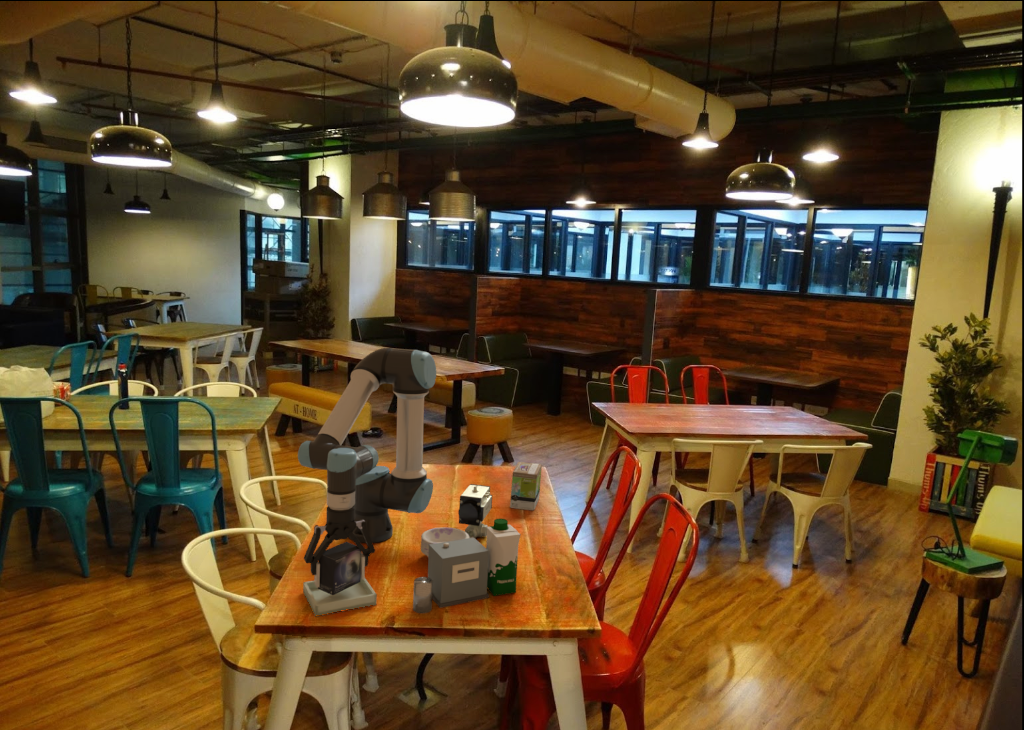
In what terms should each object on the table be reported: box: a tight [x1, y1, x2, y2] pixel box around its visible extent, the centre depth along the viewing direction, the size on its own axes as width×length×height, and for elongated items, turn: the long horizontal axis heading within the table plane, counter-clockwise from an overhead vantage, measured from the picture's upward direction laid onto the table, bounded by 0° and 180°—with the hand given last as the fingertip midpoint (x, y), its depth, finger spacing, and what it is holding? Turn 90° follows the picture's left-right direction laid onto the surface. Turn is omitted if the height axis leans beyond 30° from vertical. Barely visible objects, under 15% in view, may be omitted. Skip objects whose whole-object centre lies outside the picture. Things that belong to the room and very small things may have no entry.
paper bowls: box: [420, 527, 470, 559], centre depth 222 cm, size 15×15×8 cm
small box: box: [318, 541, 362, 595], centre depth 192 cm, size 11×6×10 cm, turn 148°
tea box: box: [509, 461, 543, 511], centre depth 275 cm, size 15×10×15 cm
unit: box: [427, 537, 490, 609], centre depth 198 cm, size 11×15×15 cm
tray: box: [302, 578, 378, 617], centre depth 193 cm, size 14×16×3 cm
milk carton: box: [485, 518, 521, 597], centre depth 202 cm, size 9×9×20 cm
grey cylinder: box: [412, 576, 433, 614], centre depth 190 cm, size 5×5×8 cm
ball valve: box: [457, 483, 493, 539], centre depth 240 cm, size 18×8×18 cm, turn 168°
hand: (339, 581), depth 192 cm, fingers closed on small box, 12 cm apart
